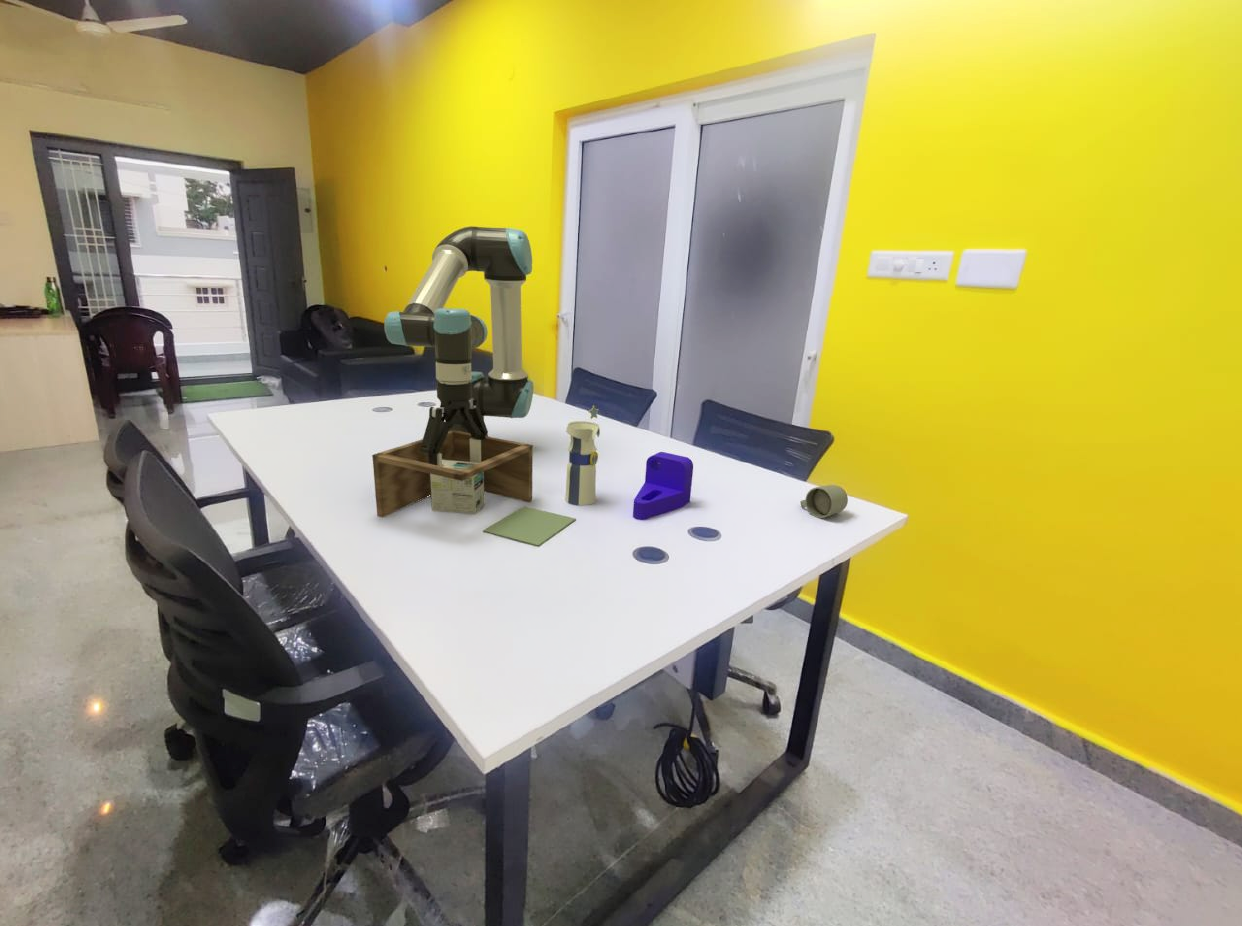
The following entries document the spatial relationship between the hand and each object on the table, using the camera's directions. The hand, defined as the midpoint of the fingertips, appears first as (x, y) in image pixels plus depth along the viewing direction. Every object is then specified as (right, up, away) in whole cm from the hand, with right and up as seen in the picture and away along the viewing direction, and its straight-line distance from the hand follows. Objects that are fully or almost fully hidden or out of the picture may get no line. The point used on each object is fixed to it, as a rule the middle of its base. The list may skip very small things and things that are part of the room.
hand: (457, 473), depth 133 cm
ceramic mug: (+88, -10, +13) cm, 89 cm away
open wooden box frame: (0, -8, +3) cm, 9 cm away
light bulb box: (-1, -8, +3) cm, 9 cm away
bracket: (+46, -9, +10) cm, 48 cm away
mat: (+18, -12, -5) cm, 22 cm away
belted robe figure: (+28, -7, +12) cm, 31 cm away
